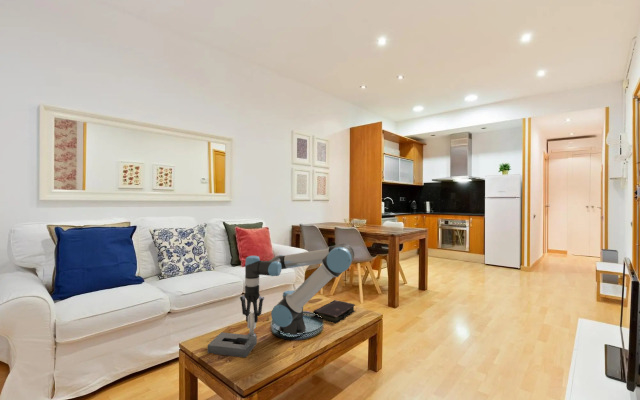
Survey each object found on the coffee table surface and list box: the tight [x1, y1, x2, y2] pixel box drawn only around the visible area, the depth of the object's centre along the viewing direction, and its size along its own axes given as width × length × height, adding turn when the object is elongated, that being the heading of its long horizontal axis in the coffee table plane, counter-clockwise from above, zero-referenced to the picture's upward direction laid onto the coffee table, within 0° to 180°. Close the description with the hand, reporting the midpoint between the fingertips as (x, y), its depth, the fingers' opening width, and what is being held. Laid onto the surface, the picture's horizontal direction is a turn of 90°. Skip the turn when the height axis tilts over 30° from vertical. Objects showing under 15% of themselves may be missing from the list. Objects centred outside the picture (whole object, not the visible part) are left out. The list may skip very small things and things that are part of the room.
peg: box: [247, 310, 257, 336], centre depth 166 cm, size 5×5×14 cm
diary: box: [312, 299, 356, 324], centre depth 202 cm, size 19×25×5 cm
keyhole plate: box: [207, 331, 258, 359], centre depth 155 cm, size 20×14×4 cm
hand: (251, 327), depth 166 cm, fingers closed on peg, 2 cm apart
